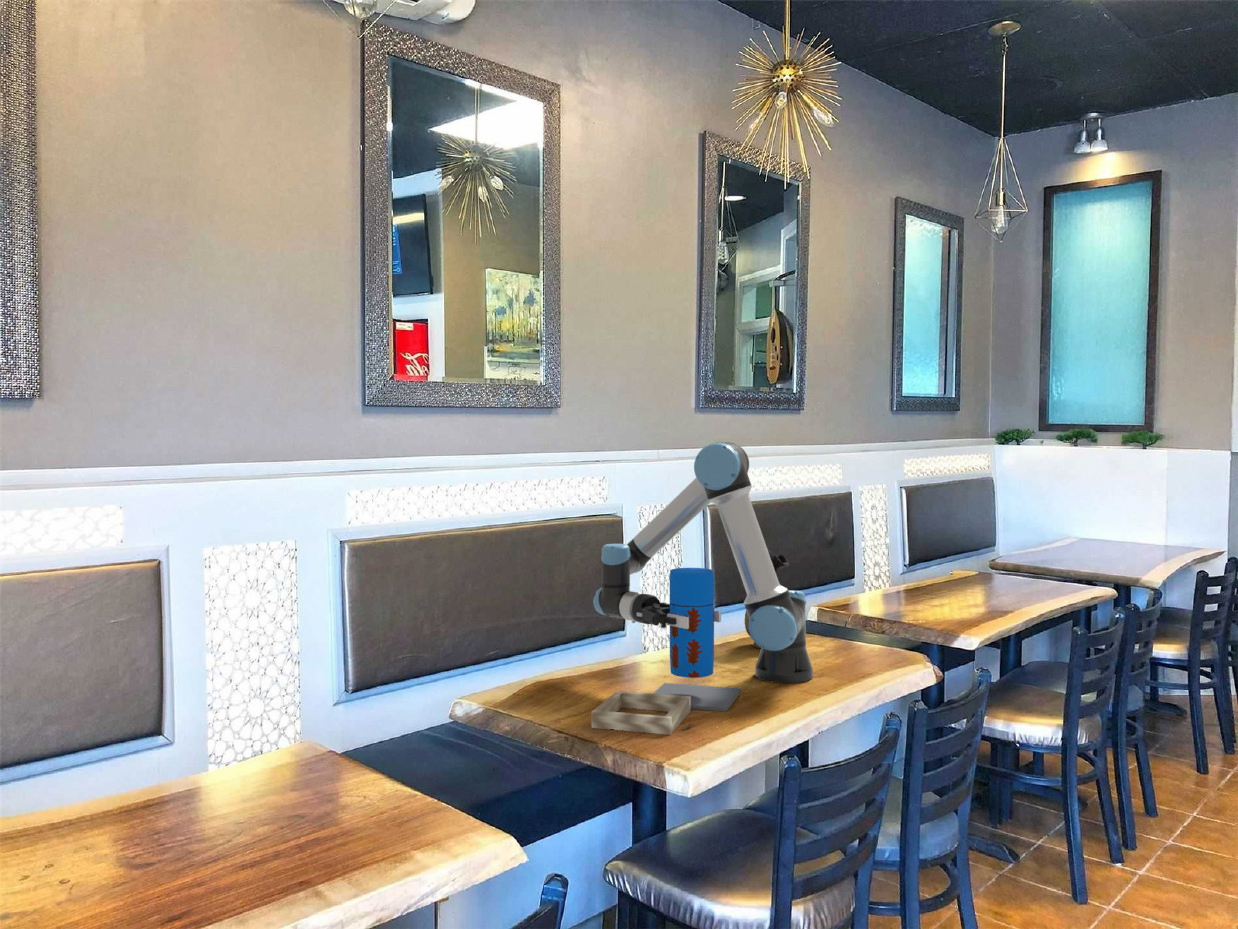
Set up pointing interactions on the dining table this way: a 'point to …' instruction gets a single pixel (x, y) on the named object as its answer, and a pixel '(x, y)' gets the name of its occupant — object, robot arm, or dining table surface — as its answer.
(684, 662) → the thermos
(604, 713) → the wooden collar
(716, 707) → the rubber mat
